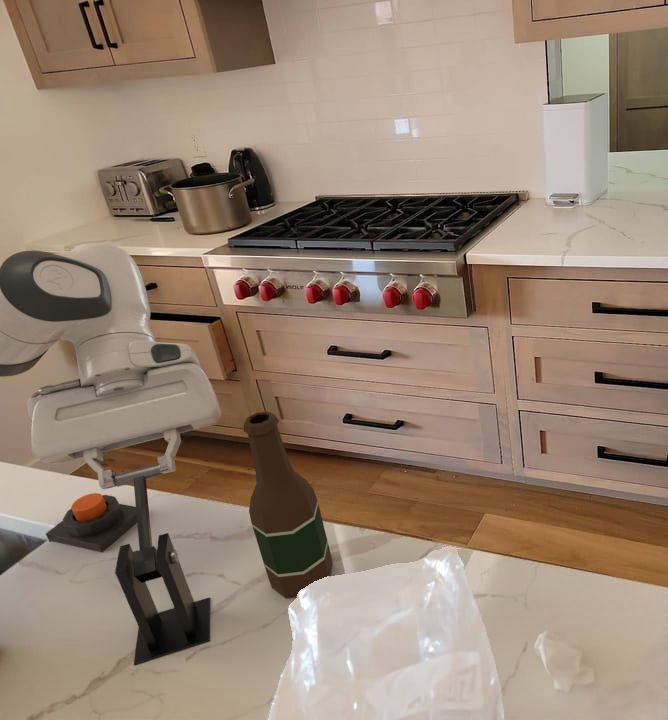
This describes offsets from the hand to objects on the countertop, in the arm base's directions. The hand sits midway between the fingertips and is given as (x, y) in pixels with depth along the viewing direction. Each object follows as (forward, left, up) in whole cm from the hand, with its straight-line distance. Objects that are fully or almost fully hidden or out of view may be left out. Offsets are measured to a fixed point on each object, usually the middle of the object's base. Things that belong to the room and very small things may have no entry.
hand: (139, 479), depth 79 cm
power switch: (0, -9, -17) cm, 19 cm away
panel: (-12, +16, -17) cm, 26 cm away
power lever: (0, -3, -4) cm, 5 cm away
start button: (-12, +16, -13) cm, 24 cm away
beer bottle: (+15, -6, -17) cm, 23 cm away
